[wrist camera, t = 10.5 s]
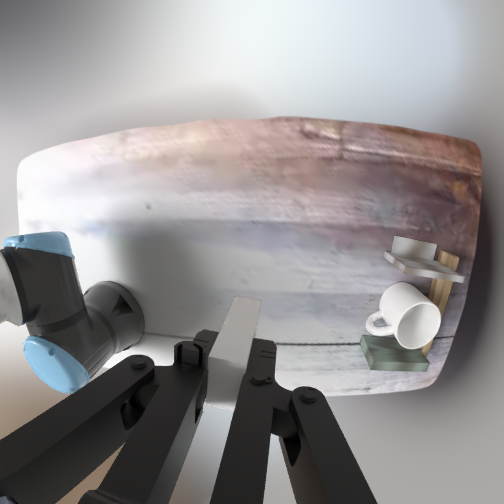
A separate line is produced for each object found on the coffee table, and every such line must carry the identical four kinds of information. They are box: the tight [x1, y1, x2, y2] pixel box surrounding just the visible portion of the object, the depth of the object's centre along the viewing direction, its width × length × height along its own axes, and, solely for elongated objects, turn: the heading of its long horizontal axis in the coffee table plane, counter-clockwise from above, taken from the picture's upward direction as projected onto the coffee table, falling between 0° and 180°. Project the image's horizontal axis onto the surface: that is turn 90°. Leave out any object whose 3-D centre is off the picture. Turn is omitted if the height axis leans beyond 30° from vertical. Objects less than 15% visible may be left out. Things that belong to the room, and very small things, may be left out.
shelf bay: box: [360, 236, 464, 372], centre depth 44 cm, size 13×23×10 cm, turn 172°
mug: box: [366, 282, 441, 349], centre depth 44 cm, size 12×8×10 cm
